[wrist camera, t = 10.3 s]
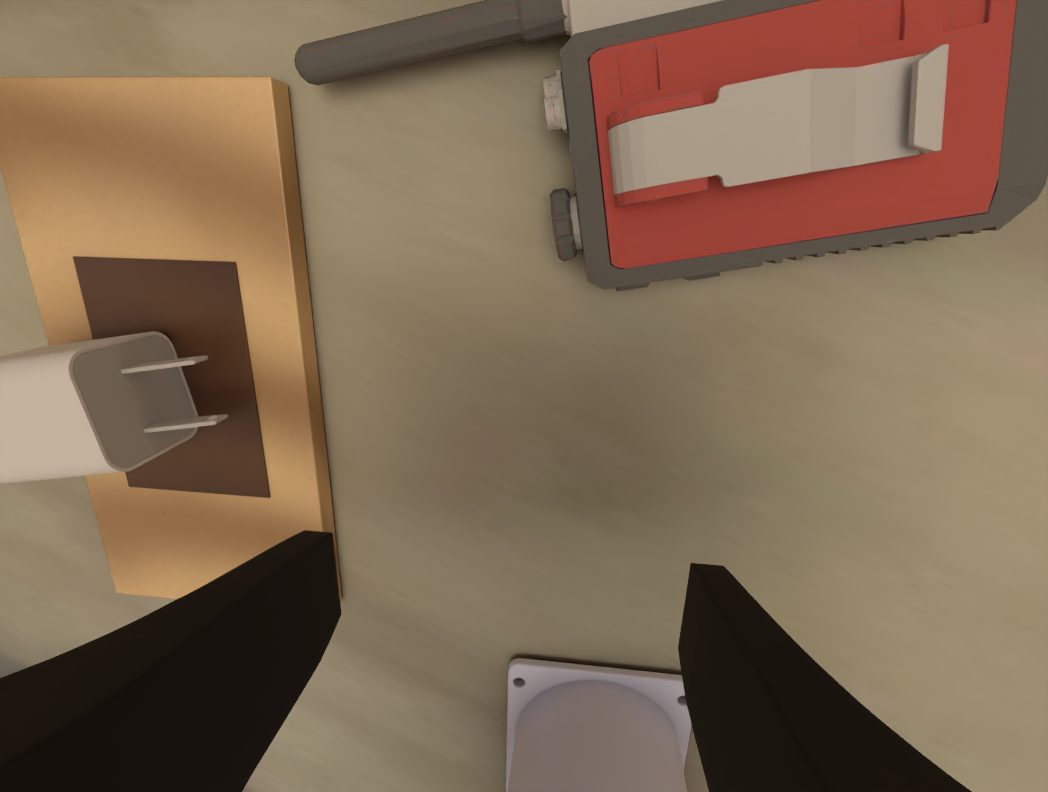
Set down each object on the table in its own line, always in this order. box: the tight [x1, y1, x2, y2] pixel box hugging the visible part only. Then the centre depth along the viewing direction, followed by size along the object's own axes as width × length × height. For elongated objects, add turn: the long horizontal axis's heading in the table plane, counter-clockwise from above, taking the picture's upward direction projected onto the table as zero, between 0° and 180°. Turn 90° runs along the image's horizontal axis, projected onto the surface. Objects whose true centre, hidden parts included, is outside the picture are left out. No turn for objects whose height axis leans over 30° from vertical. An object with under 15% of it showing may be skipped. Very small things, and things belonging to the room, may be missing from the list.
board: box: [0, 77, 342, 602], centre depth 20 cm, size 20×10×1 cm, turn 179°
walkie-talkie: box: [295, 0, 1048, 291], centre depth 14 cm, size 9×4×20 cm
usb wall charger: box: [0, 331, 228, 483], centre depth 17 cm, size 4×7×4 cm, turn 98°
